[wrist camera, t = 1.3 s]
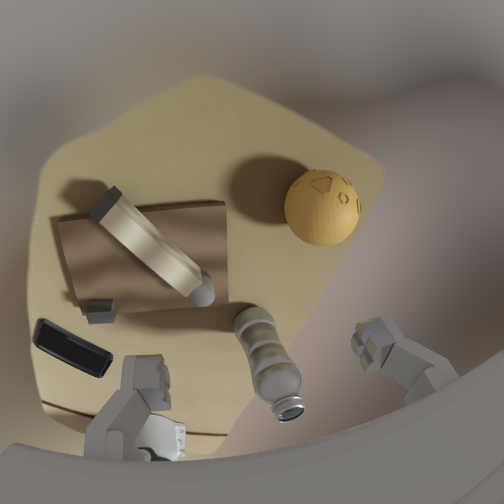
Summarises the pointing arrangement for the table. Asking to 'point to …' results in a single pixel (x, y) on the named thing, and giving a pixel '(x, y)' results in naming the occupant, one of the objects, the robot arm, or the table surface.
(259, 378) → the plastic bottle
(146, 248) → the stool leg
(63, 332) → the phone
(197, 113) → the table surface
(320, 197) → the stress ball
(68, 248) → the seat board
